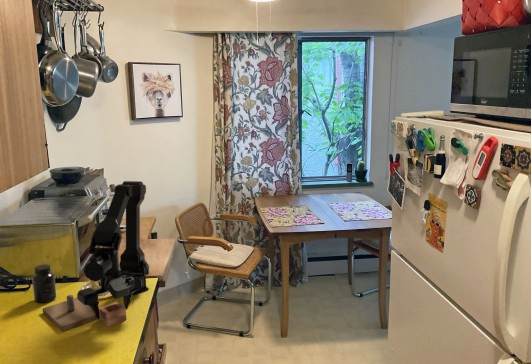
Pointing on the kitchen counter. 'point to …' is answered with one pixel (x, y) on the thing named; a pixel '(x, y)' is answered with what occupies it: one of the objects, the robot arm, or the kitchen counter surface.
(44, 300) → the supplement bottle
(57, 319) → the brown peg base
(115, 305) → the brown hollow square block
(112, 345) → the kitchen counter surface
